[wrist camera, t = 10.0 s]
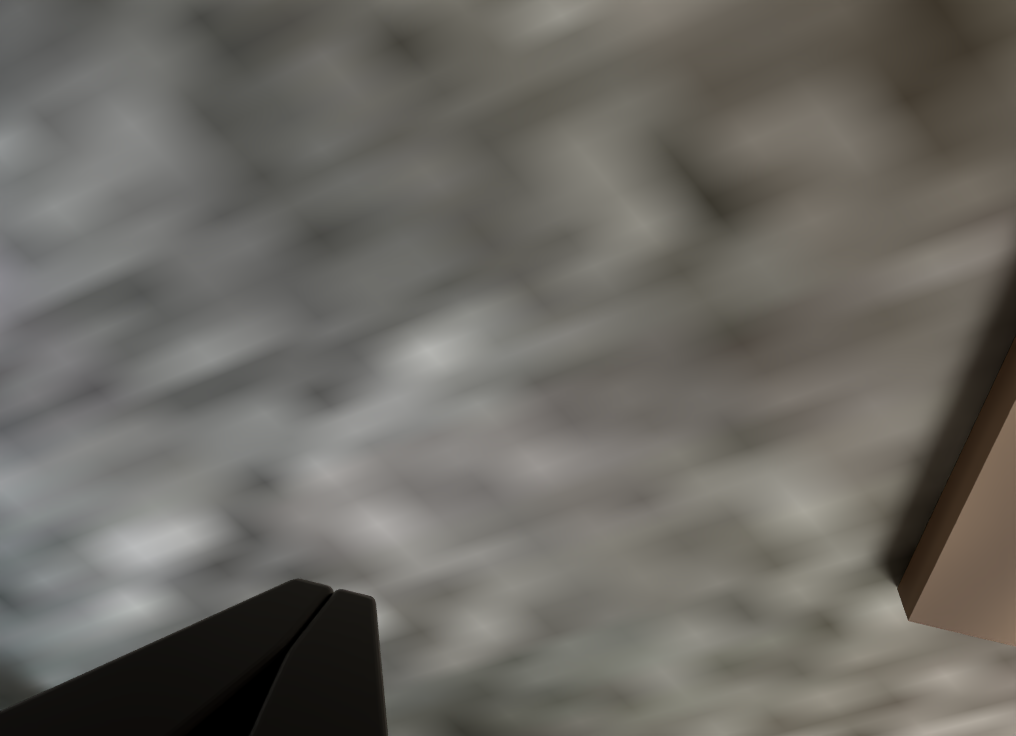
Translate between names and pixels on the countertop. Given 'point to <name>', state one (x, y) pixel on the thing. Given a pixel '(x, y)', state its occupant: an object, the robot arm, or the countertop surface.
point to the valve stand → (973, 531)
